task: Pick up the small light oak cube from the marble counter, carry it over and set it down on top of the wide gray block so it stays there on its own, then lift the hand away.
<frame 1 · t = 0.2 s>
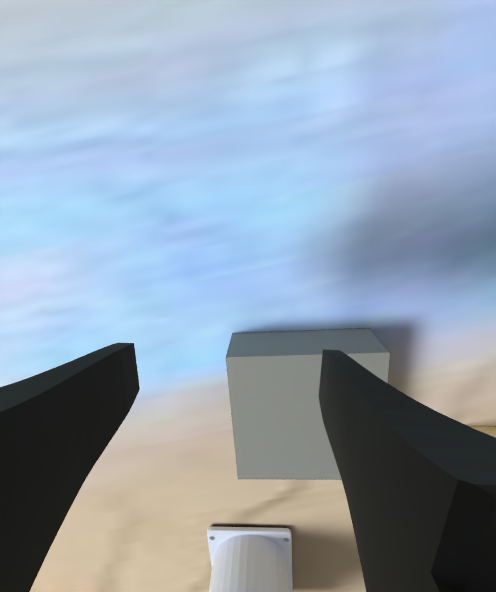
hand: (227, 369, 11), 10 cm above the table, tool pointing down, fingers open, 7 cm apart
gray block: (299, 386, 23), on the table
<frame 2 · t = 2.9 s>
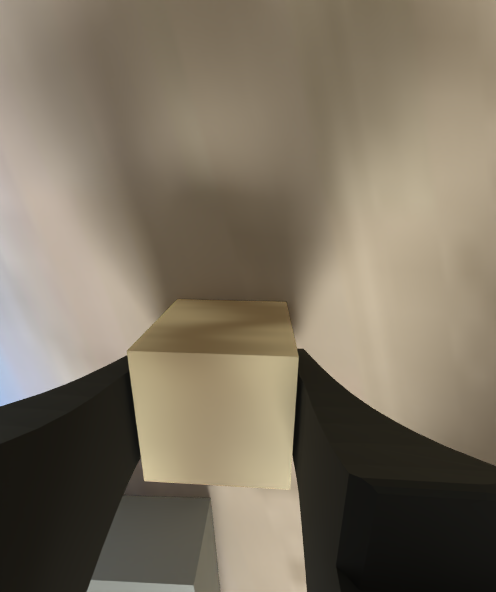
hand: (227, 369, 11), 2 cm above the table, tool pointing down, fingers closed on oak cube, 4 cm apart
oak cube: (231, 349, 12), on the table, touching gripper
gray block: (136, 551, 17), on the table
when the fingers open (7 cm above the table, at t = 7.4 s): oak cube drops 2 cm, point 4 cm above the table.
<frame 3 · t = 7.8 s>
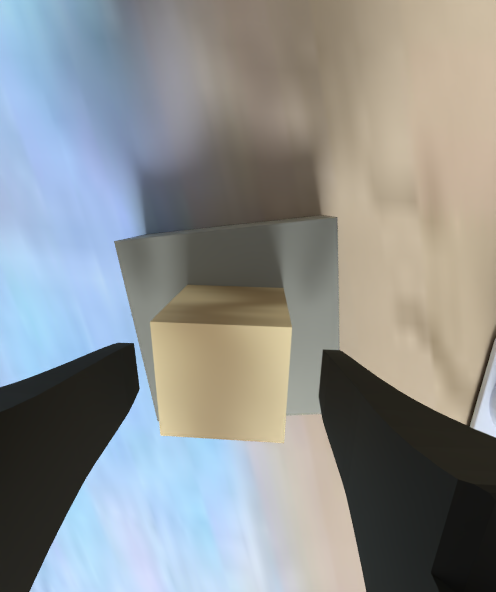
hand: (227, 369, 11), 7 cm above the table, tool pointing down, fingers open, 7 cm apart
oak cube: (234, 330, 14), point 4 cm above the table
gray block: (242, 306, 18), on the table
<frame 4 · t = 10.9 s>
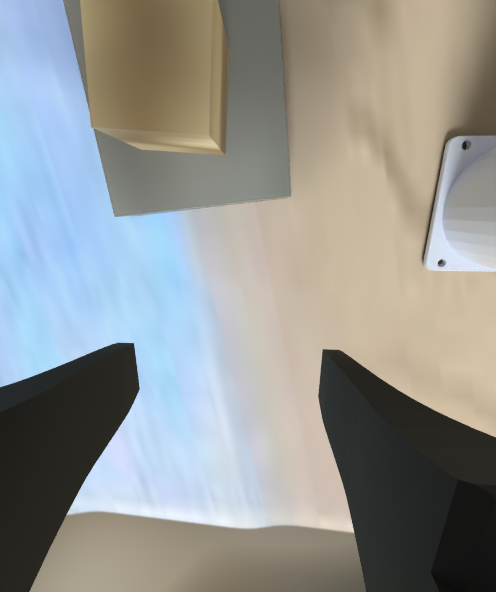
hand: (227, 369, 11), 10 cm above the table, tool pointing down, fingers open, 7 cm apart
oak cube: (182, 102, 14), point 4 cm above the table, touching gray block
gray block: (201, 125, 18), on the table, touching oak cube
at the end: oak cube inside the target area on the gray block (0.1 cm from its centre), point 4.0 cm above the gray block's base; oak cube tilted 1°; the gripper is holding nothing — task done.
